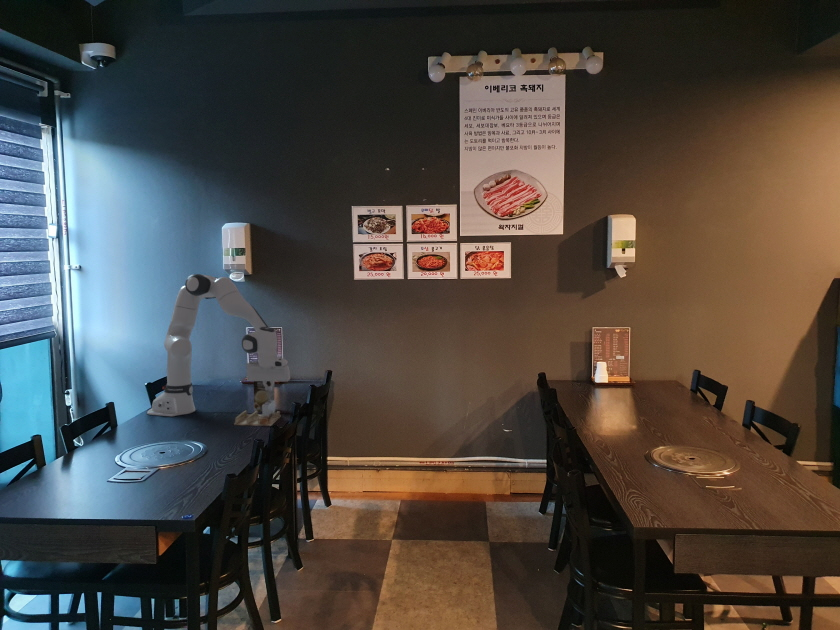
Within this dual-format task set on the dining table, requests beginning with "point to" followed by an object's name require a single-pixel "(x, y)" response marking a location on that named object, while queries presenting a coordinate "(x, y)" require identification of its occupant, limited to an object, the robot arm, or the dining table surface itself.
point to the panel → (268, 409)
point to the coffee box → (262, 395)
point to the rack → (256, 419)
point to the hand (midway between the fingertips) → (268, 390)
